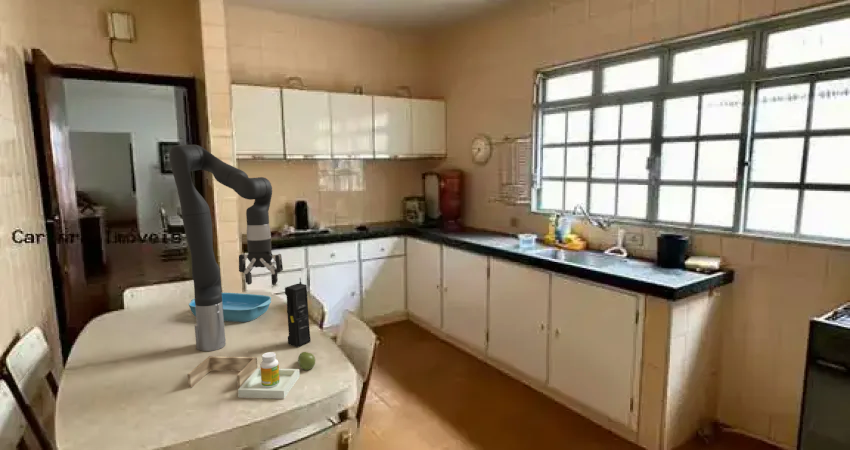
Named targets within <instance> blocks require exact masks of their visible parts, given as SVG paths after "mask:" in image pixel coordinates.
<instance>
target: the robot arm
mask: <svg viewBox="0 0 850 450" xmlns="http://www.w3.org/2000/svg"><path fill="white" fill-rule="evenodd" d="M169 164H170V167H171V171H172V174H173V179H174V182H175V186H176V189H177V194H178V201H179V206H180V212H181V219H182V224H183V225H182V226H183V228H184V233H185V236H186V241H187V244H188V247H189V251H190V256H191V278H192V280H193V287H194V288H193V289H194V298H195V308H196V316H195V317H196V323H195V324H194V335H195V346H196V350H200V351H202V352H210V351H211V352H212V351H217V350H220V349H222V348H224V347H225V346H226V344H227V343H226V331H225V321H224V316H223V304H222V293H223V291H222V278H221V277H222V276H221V267H220V265H219V264H218V263H217V261H216V256H215V253H214V247H213V245H214V244H213V240H214V239H213V223H212V222H213V221H212V215H211V210H210V207H209V204H208V202H207V201H206V200H205V198H204V197H203V196H202V195H201V193H199V191H198V190H197V188H196V187H195V185H194V183H193V178H192V175H191V172H195V171H199V170H200V171H201V170H202V171H205V172H209V173H210V174H212V175H213V177H214V179H215V180H216V181H217V182H218V183H220V184H221V185H223V186H225V187H228V188H229V189H232V190H233V192H235V193H236V194H238V195H239V196H240V197H241V198H243V199H245V200H251V201H252V200H254V201H253V205H251V206H249V207H247V209H246V212H245V215H246V241H247V242H246V243H247V245H246V246H247V254H245V253H241V254H239V255H238V271H239V272H240V273H243V274H244V278H245V279H244V280H245V283H246V284H247V285H251V284H252V283H253V280H252V271H253V269H254V268H266V269H267V270H268V271H269V272H270V273H271V275H270V276H271V286H272V285H273V286H275V285H276V284H277V283H278V274H279V273H281V272H282V271H283V270H284V268H283V266H284V265H283V259H282V258H283V257H282V254H281V253H277V254H273V253H272V233H271V226H270V218H269V217H270V216H269V212H270V211H269V210H270V206H271V201H272V197H273V187H272V183H271V182H270V180H269V179H268V178H266V177H262V176H261V177H249V175H248V174H247V173H246V172H245V171H243V170H242V169H240V168H238V167H235V166H234V165H233V166H232V165H230V164H229V163H227V162H225V161H222V160H221V159H220V158H218V157H217V156H216V155H214V154H212V153H211V152H210V151H208V150H207V149H206V148H204V147H202V146H201V145H199V144H198V145H197V144H180V145H179V144H177V145H173V146H172V147H171V148H170V149H169ZM247 260H248V261H249V264H247V267H246V263H247ZM272 260H274V262H275V264H274V263H273V262H272Z"/></svg>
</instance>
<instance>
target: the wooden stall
mask: <svg viewBox="0 0 850 450" xmlns="http://www.w3.org/2000/svg"><path fill="white" fill-rule="evenodd" d="M257 368H258V357H256V356H211V355H210V356H207V357H206V358H205V359H204V360H203V361H202V362H200V363H199V364H198V365H197V366H196V367H195V368H193V369H192V370H190V371H189V372H188V373H187V383H188V388H189V389H191V388H193V387H194V386H195V385H197V383H198V382H200V381H201V380H202V379H203V378H204V377H205V376H206V375H208V374H209V372H210V371H230V372H231V371H235V372H236V371H238V374H237V375H236V381H237V390H238V389H239V388H240V387H241V386H242V385H243V384H244V382H245V381H246V380H247V379H248V378H249V377H250V376H251V375H252V374H253V373H254V371H255V370H256V369H257ZM239 371H240V372H239Z"/></svg>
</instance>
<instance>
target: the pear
mask: <svg viewBox="0 0 850 450" xmlns="http://www.w3.org/2000/svg"><path fill="white" fill-rule="evenodd" d="M315 357H316V356H315V355H314V354H313V353H311V352H307V351H302V352H301V353H300V354H299V355H298V358H297V363H298V365H299V367H300V368H301V369H302V370H304V371H308V370H311V369H312V368H314V367H315V364H316V358H315Z"/></svg>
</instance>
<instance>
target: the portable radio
mask: <svg viewBox="0 0 850 450" xmlns="http://www.w3.org/2000/svg"><path fill="white" fill-rule="evenodd" d="M301 281H302V278H299V283H295V284H292V285H289V286H286V287H284V295H285V297H286V314H287V324H288V325H287V326H288V327H287V328H288V329H287V330H288V336H287V344H288V345H289V346H292V347H296V348H300V347H302V346H304V345H306V344H308V343H310V342H311V341H312V340H311V331H310V329H311V328H310V320H309V319H310V318H309V304H308V288H307V286H308V284H303V283H302V282H301Z"/></svg>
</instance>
